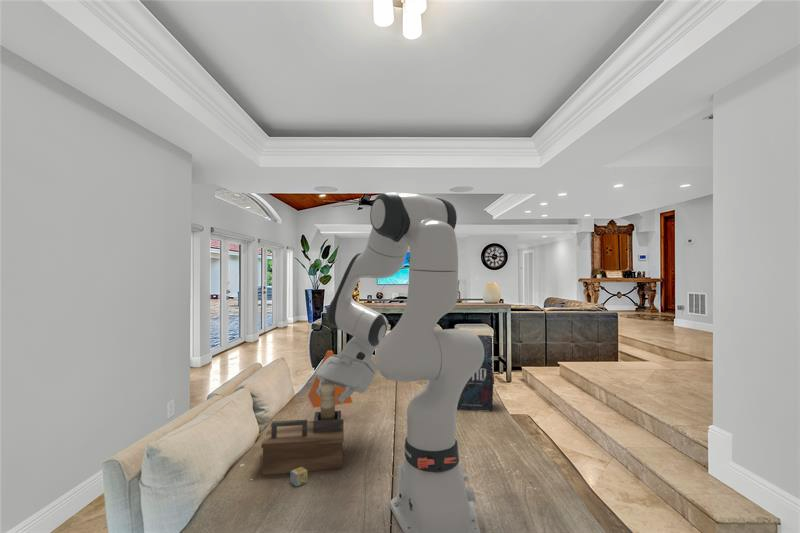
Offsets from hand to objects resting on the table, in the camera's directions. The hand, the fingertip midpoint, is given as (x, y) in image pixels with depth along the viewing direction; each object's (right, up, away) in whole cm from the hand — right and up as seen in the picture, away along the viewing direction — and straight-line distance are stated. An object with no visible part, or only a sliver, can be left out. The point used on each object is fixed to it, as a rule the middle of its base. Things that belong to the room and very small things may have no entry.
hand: (328, 398), depth 108 cm
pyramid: (-9, -17, +48) cm, 51 cm away
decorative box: (+48, -17, +38) cm, 64 cm away
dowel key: (0, -8, 0) cm, 8 cm away
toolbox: (-6, -16, -3) cm, 17 cm away
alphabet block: (-5, -16, -15) cm, 22 cm away
